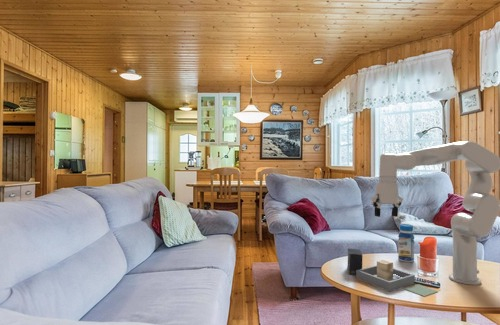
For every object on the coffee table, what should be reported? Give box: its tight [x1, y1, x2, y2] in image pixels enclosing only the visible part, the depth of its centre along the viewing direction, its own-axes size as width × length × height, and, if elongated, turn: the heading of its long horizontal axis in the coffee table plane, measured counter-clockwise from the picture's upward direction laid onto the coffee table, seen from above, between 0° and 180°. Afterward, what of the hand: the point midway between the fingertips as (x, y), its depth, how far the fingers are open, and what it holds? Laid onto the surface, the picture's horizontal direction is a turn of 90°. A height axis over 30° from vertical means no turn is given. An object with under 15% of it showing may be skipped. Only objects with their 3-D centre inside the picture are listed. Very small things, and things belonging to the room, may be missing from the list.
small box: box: [347, 248, 363, 276], centre depth 162 cm, size 11×6×10 cm, turn 168°
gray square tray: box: [355, 264, 416, 293], centre depth 150 cm, size 18×18×4 cm
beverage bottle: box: [397, 223, 416, 263], centre depth 182 cm, size 8×8×20 cm
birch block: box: [376, 259, 394, 279], centre depth 150 cm, size 5×5×7 cm
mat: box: [404, 284, 439, 298], centre depth 139 cm, size 10×9×1 cm
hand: (386, 216), depth 151 cm, fingers open, 9 cm apart
